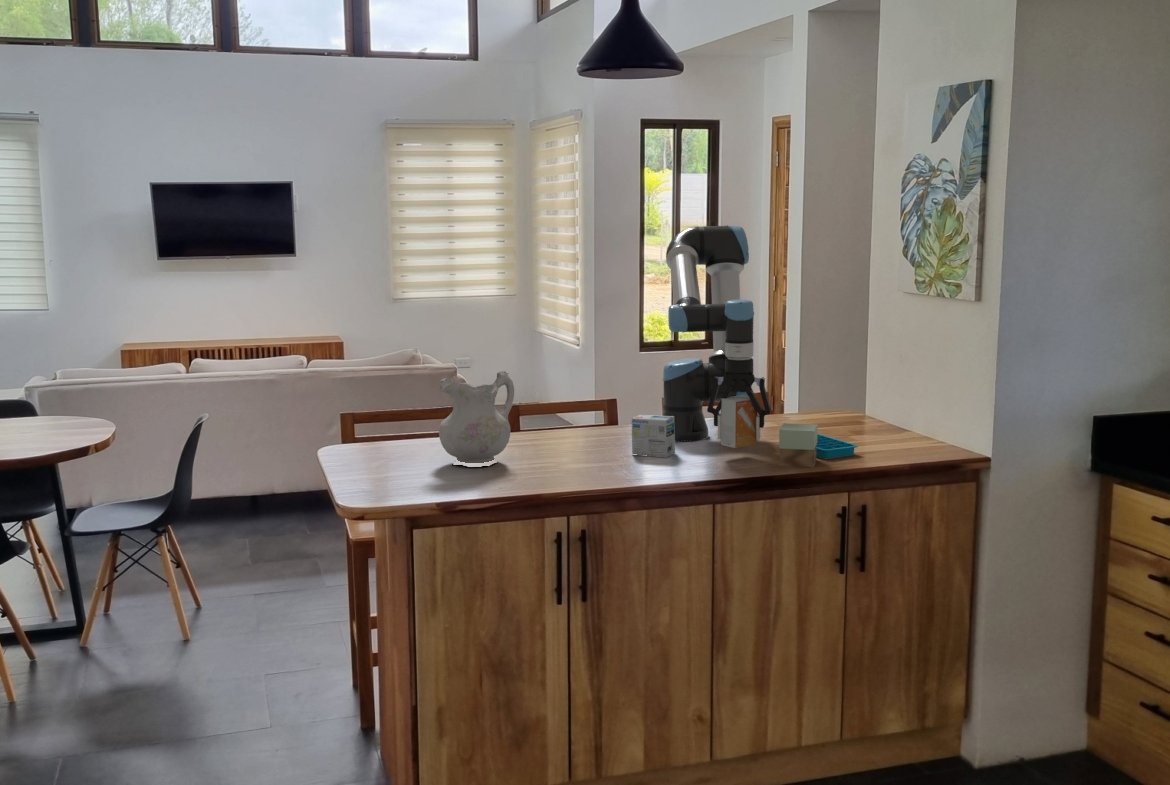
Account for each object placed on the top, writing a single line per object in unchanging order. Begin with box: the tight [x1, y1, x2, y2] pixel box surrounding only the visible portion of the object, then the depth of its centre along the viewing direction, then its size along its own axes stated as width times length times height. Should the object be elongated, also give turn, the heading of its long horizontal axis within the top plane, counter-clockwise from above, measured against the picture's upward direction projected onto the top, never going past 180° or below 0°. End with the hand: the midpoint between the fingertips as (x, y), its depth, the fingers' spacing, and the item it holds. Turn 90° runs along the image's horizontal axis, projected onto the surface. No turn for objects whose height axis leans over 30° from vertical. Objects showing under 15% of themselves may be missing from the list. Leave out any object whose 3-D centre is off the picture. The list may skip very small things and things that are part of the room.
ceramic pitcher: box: [438, 371, 515, 463], centre depth 295 cm, size 22×20×25 cm
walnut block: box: [778, 447, 817, 468], centre depth 288 cm, size 9×9×5 cm
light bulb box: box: [631, 414, 676, 458], centre depth 302 cm, size 11×7×11 cm, turn 65°
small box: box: [720, 395, 759, 449], centre depth 294 cm, size 8×6×13 cm
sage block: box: [778, 422, 818, 450], centre depth 287 cm, size 9×9×5 cm
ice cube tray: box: [816, 433, 859, 460], centre depth 302 cm, size 12×20×3 cm, turn 23°
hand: (738, 438), depth 295 cm, fingers closed on small box, 10 cm apart
